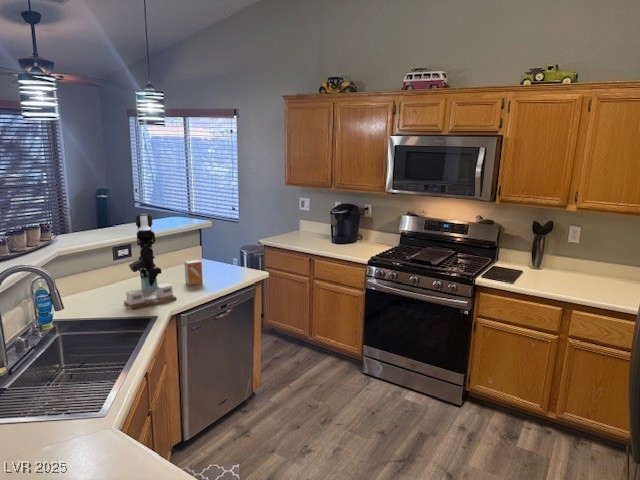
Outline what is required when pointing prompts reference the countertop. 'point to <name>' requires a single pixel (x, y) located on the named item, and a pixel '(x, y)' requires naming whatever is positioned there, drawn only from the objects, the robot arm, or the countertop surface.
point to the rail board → (150, 302)
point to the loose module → (148, 284)
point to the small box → (193, 272)
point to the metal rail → (149, 299)
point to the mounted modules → (137, 295)
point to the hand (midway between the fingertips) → (149, 284)
